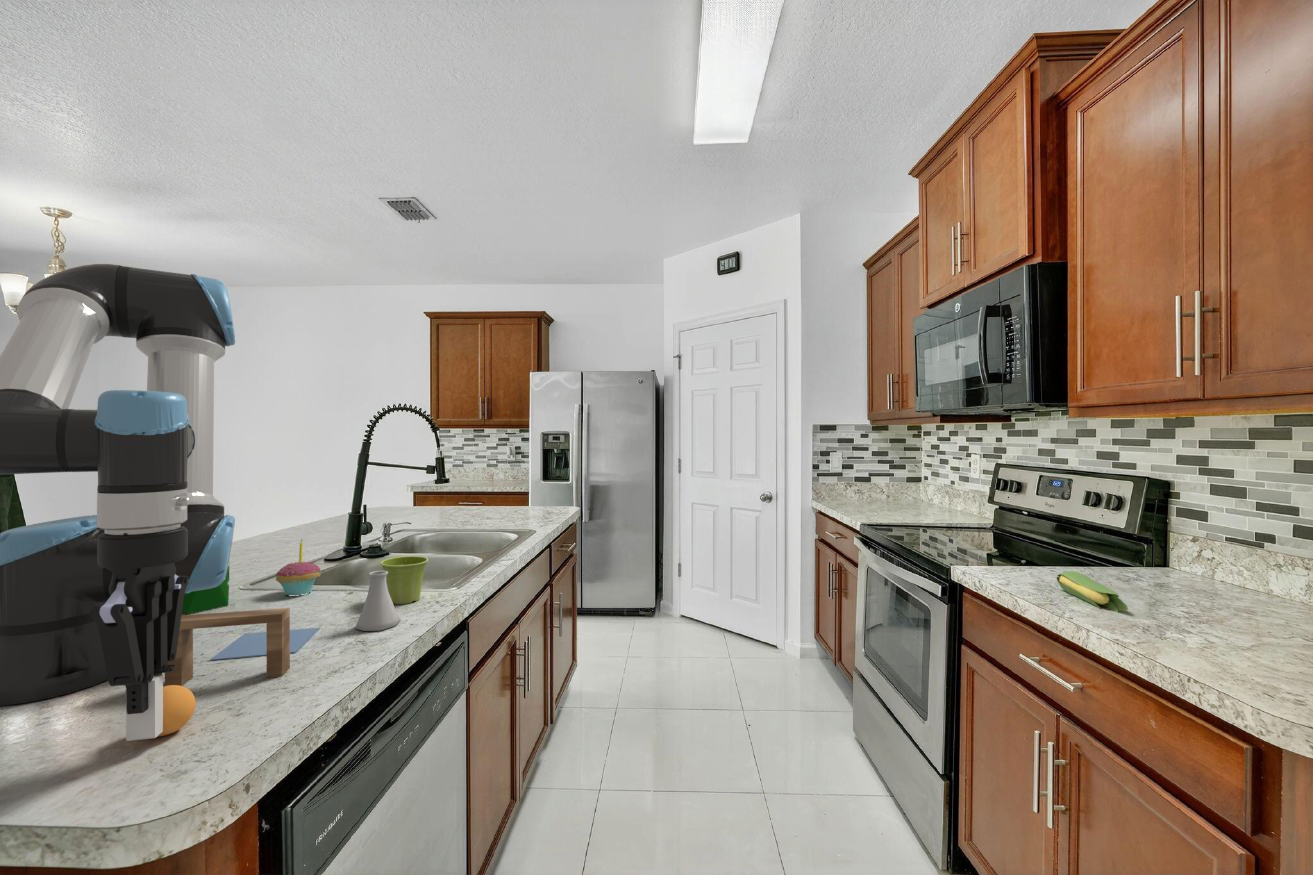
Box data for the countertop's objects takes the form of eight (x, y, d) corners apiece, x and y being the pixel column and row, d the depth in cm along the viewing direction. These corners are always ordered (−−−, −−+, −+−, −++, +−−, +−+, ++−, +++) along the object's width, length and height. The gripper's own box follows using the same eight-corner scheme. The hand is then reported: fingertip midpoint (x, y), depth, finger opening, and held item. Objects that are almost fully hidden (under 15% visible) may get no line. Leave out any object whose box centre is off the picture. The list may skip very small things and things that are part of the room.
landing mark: (209, 660, 88) (209, 659, 88) (244, 634, 99) (244, 633, 99) (296, 652, 91) (296, 651, 91) (319, 628, 103) (319, 627, 103)
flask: (382, 633, 100) (381, 578, 100) (346, 631, 101) (346, 576, 101) (407, 620, 107) (407, 568, 107) (374, 618, 108) (374, 567, 108)
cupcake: (283, 590, 128) (283, 538, 128) (325, 587, 131) (325, 536, 131) (270, 600, 120) (270, 545, 120) (315, 597, 123) (314, 542, 123)
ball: (121, 748, 63) (123, 698, 63) (151, 726, 68) (153, 680, 68) (179, 741, 64) (180, 692, 65) (204, 720, 70) (205, 675, 70)
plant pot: (428, 592, 126) (428, 554, 126) (427, 604, 117) (427, 563, 117) (382, 597, 123) (382, 557, 123) (378, 609, 114) (378, 567, 114)
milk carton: (165, 609, 114) (165, 512, 114) (218, 598, 122) (218, 507, 122) (182, 617, 109) (182, 515, 109) (236, 605, 117) (236, 510, 117)
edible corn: (1078, 570, 129) (1057, 564, 129) (1135, 597, 109) (1110, 590, 110) (1070, 591, 129) (1049, 585, 130) (1126, 622, 109) (1101, 614, 110)
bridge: (282, 676, 82) (282, 613, 82) (164, 687, 78) (164, 622, 78) (289, 667, 85) (289, 607, 85) (176, 678, 81) (176, 615, 81)
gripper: (147, 537, 57) (147, 764, 58) (213, 518, 70) (213, 704, 70) (57, 540, 55) (58, 775, 56) (142, 520, 68) (142, 711, 68)
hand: (144, 735), depth 63 cm, fingers closed
